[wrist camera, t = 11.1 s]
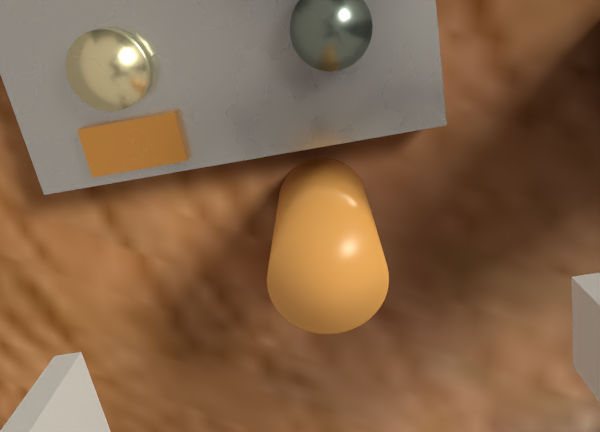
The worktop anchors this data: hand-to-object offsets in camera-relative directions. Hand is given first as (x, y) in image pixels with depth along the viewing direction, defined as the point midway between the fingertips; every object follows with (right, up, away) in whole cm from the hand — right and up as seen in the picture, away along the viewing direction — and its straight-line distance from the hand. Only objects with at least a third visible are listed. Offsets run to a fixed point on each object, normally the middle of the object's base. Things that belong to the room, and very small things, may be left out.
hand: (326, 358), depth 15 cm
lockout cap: (0, +5, +11) cm, 12 cm away
